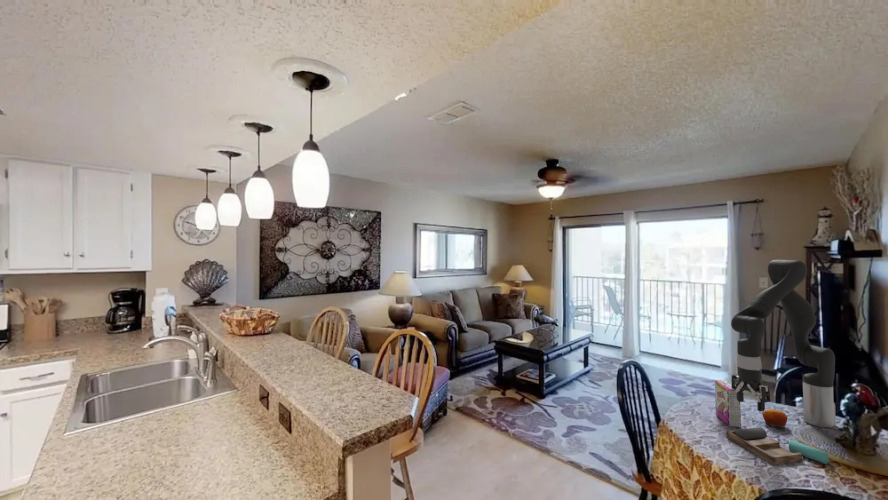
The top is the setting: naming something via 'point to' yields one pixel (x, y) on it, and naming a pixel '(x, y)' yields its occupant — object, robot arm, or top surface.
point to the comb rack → (766, 449)
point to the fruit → (775, 418)
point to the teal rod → (809, 452)
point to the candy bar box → (727, 404)
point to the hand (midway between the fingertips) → (750, 406)
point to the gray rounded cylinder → (751, 433)
